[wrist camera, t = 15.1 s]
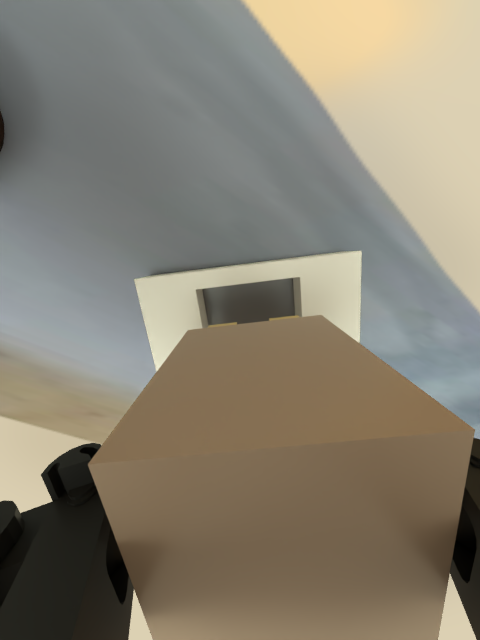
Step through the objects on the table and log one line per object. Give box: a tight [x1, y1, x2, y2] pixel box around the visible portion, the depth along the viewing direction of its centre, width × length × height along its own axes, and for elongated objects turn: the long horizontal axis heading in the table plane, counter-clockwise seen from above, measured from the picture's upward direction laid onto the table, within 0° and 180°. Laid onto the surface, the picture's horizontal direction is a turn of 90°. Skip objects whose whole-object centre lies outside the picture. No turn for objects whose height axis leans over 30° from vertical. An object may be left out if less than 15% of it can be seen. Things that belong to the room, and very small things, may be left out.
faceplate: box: [134, 251, 362, 371], centre depth 20 cm, size 16×16×3 cm
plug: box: [88, 315, 475, 640], centre depth 9 cm, size 6×6×10 cm
